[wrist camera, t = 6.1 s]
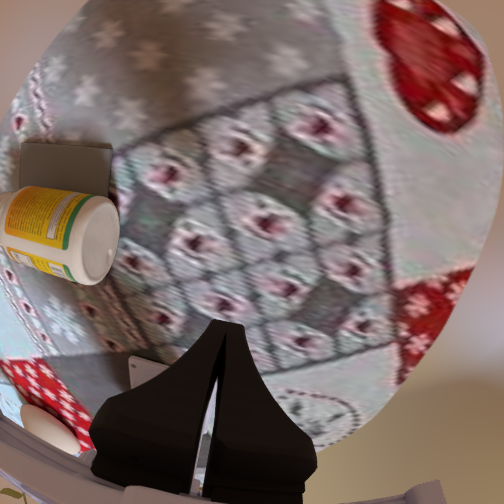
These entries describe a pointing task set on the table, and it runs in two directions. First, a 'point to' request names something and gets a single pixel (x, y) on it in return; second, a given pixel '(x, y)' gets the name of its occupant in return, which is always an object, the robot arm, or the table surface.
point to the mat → (66, 169)
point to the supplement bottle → (60, 232)
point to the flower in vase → (45, 434)
